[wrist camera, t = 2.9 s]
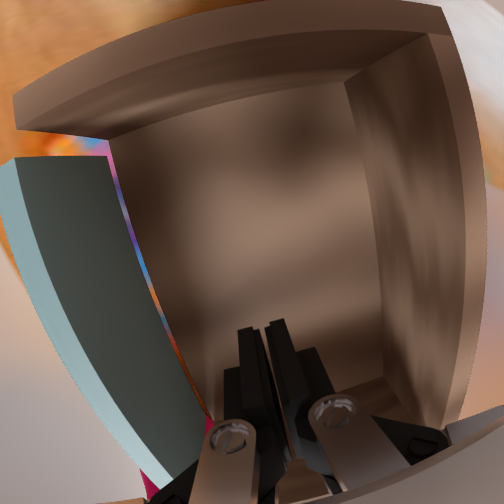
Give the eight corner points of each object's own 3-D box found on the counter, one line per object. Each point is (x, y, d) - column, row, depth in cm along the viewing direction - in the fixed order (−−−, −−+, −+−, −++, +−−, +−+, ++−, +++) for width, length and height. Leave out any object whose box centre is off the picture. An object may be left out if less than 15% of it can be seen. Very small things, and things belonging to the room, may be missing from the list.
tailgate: (77, 168, 14) (-22, 181, 7) (106, 155, 14) (14, 157, 7) (181, 419, 20) (170, 510, 12) (206, 415, 20) (202, 509, 12)
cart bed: (131, 128, 18) (12, 95, 6) (329, 80, 19) (440, 7, 6) (219, 389, 25) (219, 521, 12) (372, 347, 25) (445, 453, 12)
